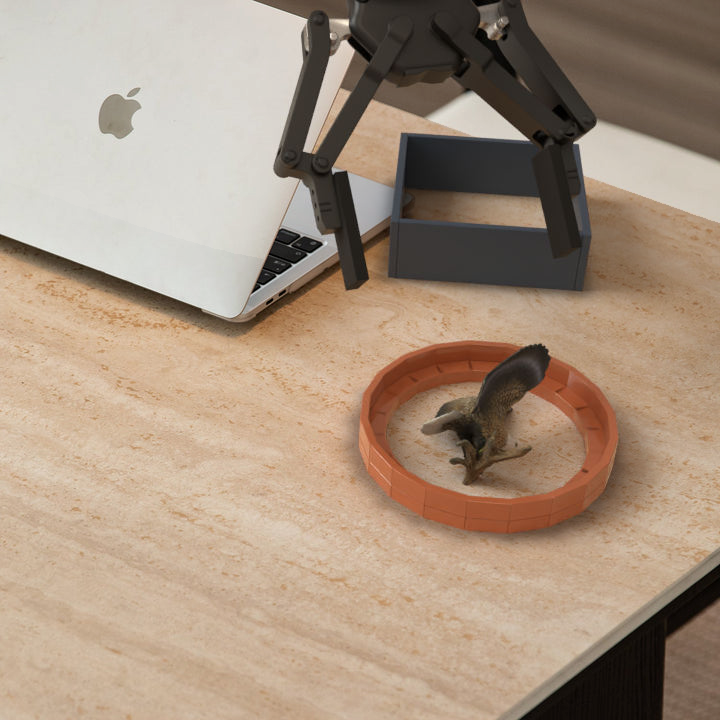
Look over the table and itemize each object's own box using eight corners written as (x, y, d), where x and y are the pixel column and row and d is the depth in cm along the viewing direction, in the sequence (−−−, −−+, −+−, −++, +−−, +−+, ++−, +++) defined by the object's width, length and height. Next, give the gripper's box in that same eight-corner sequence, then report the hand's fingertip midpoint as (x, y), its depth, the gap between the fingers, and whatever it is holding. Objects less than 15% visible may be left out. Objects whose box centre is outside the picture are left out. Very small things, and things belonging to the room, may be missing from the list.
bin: (569, 204, 102) (579, 143, 99) (581, 300, 91) (591, 235, 87) (397, 192, 103) (400, 132, 99) (387, 286, 91) (390, 221, 88)
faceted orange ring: (599, 386, 82) (606, 349, 81) (620, 552, 70) (629, 513, 68) (368, 368, 83) (370, 332, 81) (349, 530, 71) (350, 492, 69)
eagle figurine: (563, 492, 72) (576, 378, 78) (505, 415, 68) (522, 301, 74) (450, 517, 76) (470, 407, 82) (388, 445, 72) (414, 335, 78)
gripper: (553, -50, 84) (622, 254, 81) (188, -21, 77) (252, 312, 75) (601, -107, 77) (679, 224, 74) (203, -81, 70) (275, 285, 67)
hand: (465, 269), depth 74 cm, fingers open, 13 cm apart
